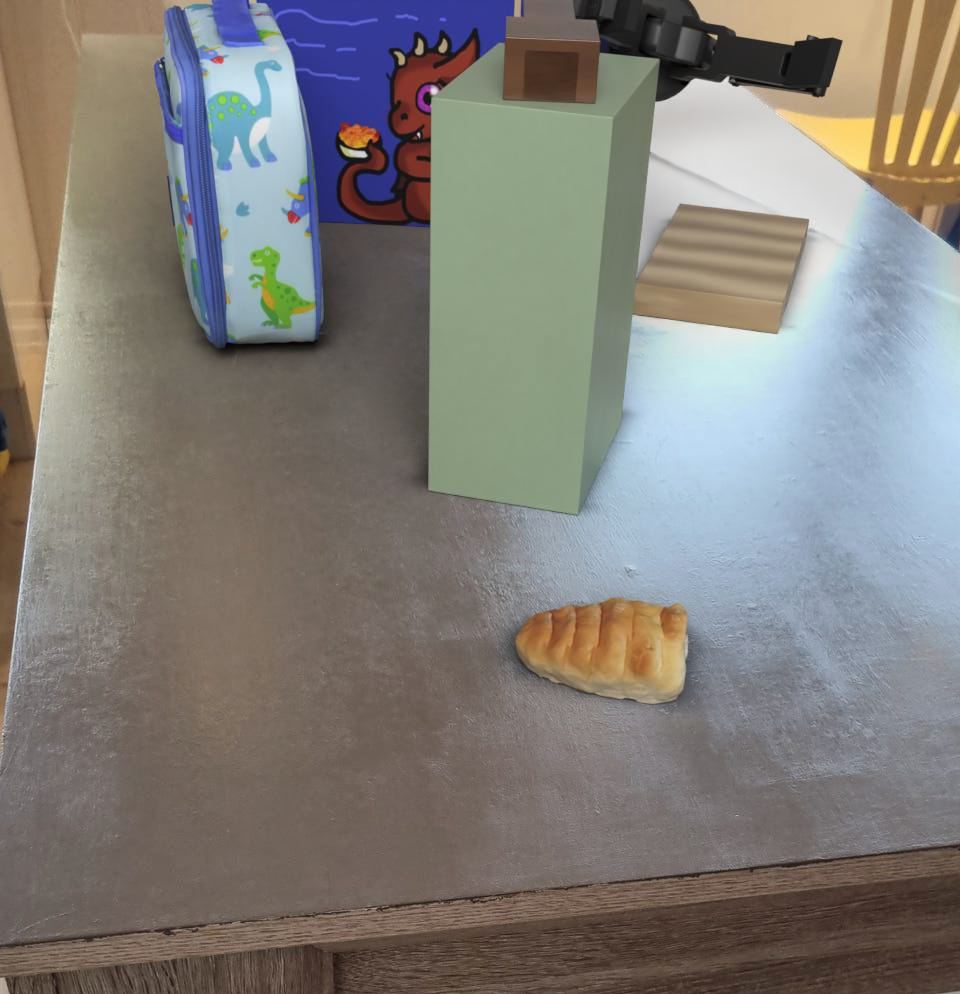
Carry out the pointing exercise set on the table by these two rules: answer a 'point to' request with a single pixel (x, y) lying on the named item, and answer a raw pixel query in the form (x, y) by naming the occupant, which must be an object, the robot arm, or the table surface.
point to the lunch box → (240, 174)
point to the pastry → (610, 648)
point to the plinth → (533, 280)
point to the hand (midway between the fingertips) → (735, 35)
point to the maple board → (722, 268)
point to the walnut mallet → (550, 54)
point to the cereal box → (380, 94)
